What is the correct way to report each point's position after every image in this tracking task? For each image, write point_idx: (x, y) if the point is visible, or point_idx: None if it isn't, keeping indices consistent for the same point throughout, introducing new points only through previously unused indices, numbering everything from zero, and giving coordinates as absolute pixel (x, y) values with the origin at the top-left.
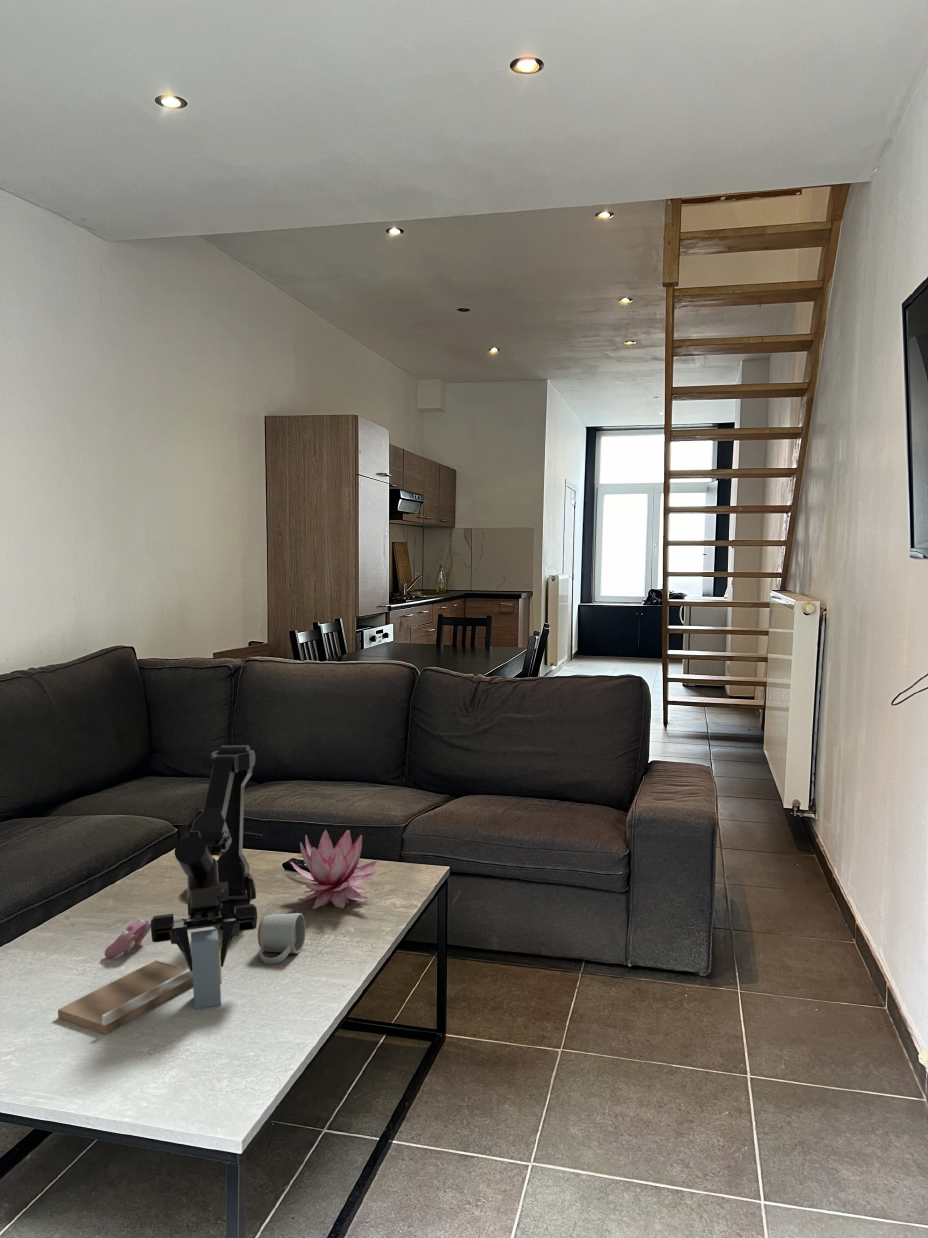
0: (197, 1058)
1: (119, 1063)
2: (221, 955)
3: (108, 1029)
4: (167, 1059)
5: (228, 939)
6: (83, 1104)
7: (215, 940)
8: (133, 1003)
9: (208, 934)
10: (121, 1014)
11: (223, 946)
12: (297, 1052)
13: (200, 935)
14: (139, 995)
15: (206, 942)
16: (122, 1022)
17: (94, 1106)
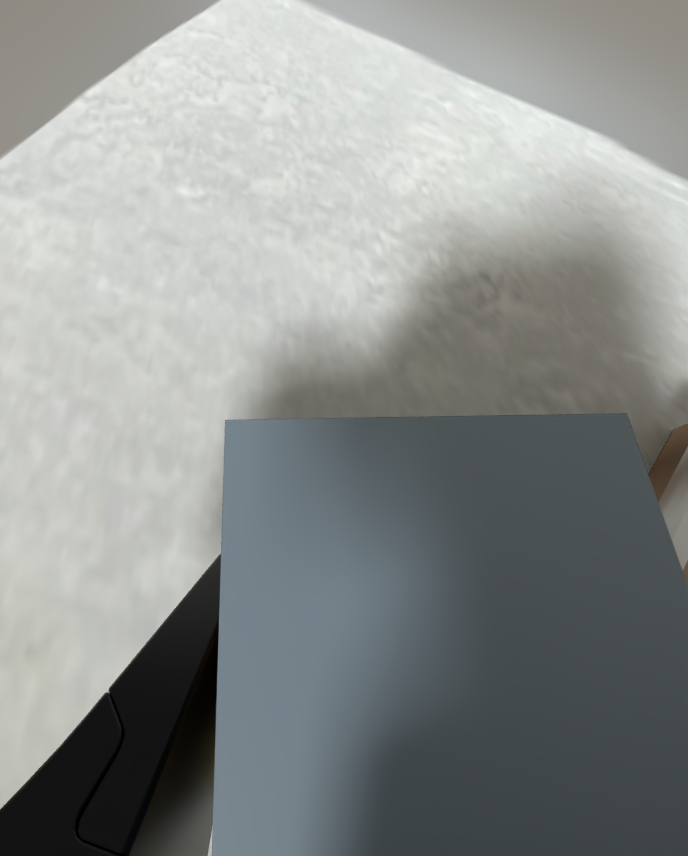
0: (345, 216)
1: (560, 260)
2: (219, 599)
3: (678, 434)
4: (431, 237)
5: (41, 775)
6: (579, 144)
7: (271, 422)
8: (675, 513)
9: (417, 744)
10: (683, 469)
11: (169, 677)
12: (42, 152)
13: (575, 737)
14: (683, 564)
15: (410, 419)
16: (651, 481)
17: (552, 131)
